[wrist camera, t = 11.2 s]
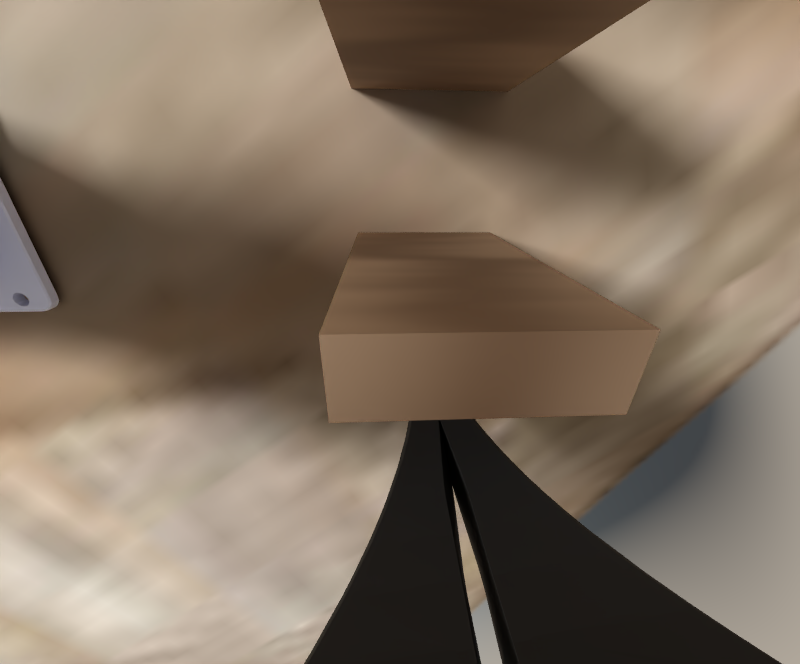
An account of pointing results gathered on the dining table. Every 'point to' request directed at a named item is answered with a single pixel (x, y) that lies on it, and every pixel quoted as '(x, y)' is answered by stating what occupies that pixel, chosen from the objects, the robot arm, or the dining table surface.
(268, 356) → the dining table surface
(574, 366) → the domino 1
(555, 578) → the robot arm
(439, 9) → the domino
